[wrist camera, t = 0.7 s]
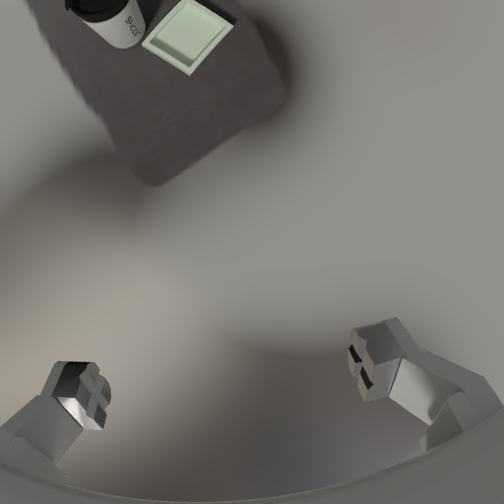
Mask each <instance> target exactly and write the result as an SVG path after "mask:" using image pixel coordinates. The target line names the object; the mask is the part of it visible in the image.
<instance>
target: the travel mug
mask: <svg viewBox="0 0 504 504" xmlns="http://www.w3.org/2000/svg"><path fill="white" fill-rule="evenodd" d="M65 8H66V10H69V8H70V9H71V10H72V11H73V12H74V13H75V14H76V15H78V16H79V18H81V19H82V20H83V21H84V22H85V23H86V24H88V25H89V26H90V27H91V28H92V29H94V30H95V31H96V32H97V33H98V34H100V35H101V36H102V37H103V38H104V39H105V40H107V41H108V42H109V43H110V44H111V45H112V46H114V47H116V48H119V49H127V48H130V47H133V46H135V45H136V44H138V43H139V42H140V41H141V40H142V39H143V37H144V35H145V33H146V24H145V21H144V19H143V16H142V14H141V11H140V9H139V6H138V4H137V1H136V0H65Z"/></svg>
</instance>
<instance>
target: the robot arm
mask: <svg viewBox="0 0 504 504" xmlns="http://www.w3.org/2000/svg"><path fill="white" fill-rule="evenodd" d="M350 340H351V342H352V345H351V346H350V347H349V348H348V364H349V367H350V371H351V373H352V375H353V376H354V377H356V378H357V379H359V381H358V386H357V387H358V389H359V391H360V394H361V396H362V398H363V401H364V402H368V401H371V400H375V399H378V398H382V397H385V396H388V395H389V397H390V398H391V399H393V400H394V401H396V402H397V403H398V404H400V405H401V406H403V407H404V408H405V409H407V410H408V411H410V412H411V413H413V414H414V415H415V416H417V417H418V418H420V419H421V420H422V421H424V422H425V423H427V424H428V425H430V426H429V428H428V429H427V431H426V432H425V433H424V435H423V436H422V438H421V440H420V442H421V444H422V446H423V448H424V450H425V453H422V454H420V455H418V456H416V457H413V458H411V459H409V460H406V461H404V462H402V463H399V464H397V465H394V466H392V467H389V468H386V469H383V470H380V471H378V472H375V473H372V474H369V475H366V476H363V477H360V478H356V479H353V480H350V481H346V482H343V483H339V484H335V485H331V486H327V487H323V488H319V489H315V490H310V491H305V492H300V493H294V494H289V495H283V496H276V497H269V498H262V499H252V500H242V501H227V502H169V501H154V500H144V499H135V498H127V497H119V496H113V495H108V494H102V493H97V492H92V491H88V490H83V489H79V488H75V487H71V486H67V485H64V484H65V479H66V473H65V471H64V470H62V469H61V468H60V467H58V466H57V465H56V464H57V462H58V461H59V460H60V459H61V457H62V456H63V455H64V454H65V452H66V451H67V450H68V449H69V447H70V446H71V445H72V444H73V442H74V441H75V440H76V439H77V437H78V436H79V435H80V434H81V432H82V431H83V429H94V430H103V428H104V424H105V420H106V416H107V414H106V411H105V408H106V407H107V406H108V405H109V404H110V400H111V388H110V386H109V383H108V382H107V380H106V378H104V377H103V376H101V375H100V374H99V368H98V366H97V365H96V364H95V363H94V362H74V361H58V362H56V363H55V364H54V366H53V368H52V370H51V372H50V374H49V377H48V379H47V381H46V383H45V385H44V388H43V390H42V392H41V394H40V395H37V396H36V397H35V398H33V399H32V400H31V401H30V402H29V403H27V404H26V405H25V406H24V407H23V408H22V409H21V410H19V411H18V412H17V413H16V414H15V415H14V416H12V417H11V418H10V419H9V420H8V421H7V422H6V423H5V424H3V425H2V426H1V427H0V504H504V406H503V404H502V403H501V401H500V400H499V398H498V397H497V395H496V394H495V392H494V391H493V389H492V388H491V386H490V385H489V383H488V382H487V381H486V379H485V378H484V377H483V376H481V375H479V374H476V373H474V372H472V371H470V370H468V369H465V368H463V367H461V366H459V365H457V364H455V363H452V362H450V361H448V360H446V359H444V358H442V357H439V356H438V355H435V354H433V353H431V352H429V351H427V350H423V351H421V350H420V348H419V347H418V345H417V344H416V342H415V341H414V340H413V339H412V337H411V335H410V334H409V333H408V332H407V330H406V328H405V327H404V326H403V324H402V323H401V322H400V320H399V319H398V318H396V317H395V318H391V319H388V320H384V321H381V322H376V323H373V324H369V325H365V326H361V327H357V328H353V329H352V330H351V332H350Z"/></svg>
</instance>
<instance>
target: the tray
mask: <svg viewBox="0 0 504 504" xmlns="http://www.w3.org/2000/svg"><path fill="white" fill-rule="evenodd" d="M233 27H234V26H233V25H231V24H230V23H228V22H227V21H226V20H224V19H223V18H221V17H220V16H218V15H217V14H215V13H213V12H212V11H210V10H209V9H207V8H206V7H204V6H202V5H201V4H199V3H197V2H196V1H194V0H181V1H180V2H179V3H178V4H177V5H176V6H175V7H174V8H173V9H172V10H171V11H170V12H169V13H168V15H167V16H166V17H165V18H164V19H163V20H162V21H161V22H160V23H159V24H158V25H157V27H156V28H155V29H154V30H153V31H152V32H151V33H150V35H149V36H148V37H147V38H146V39H145V40H144V42H143V43H142V46H143V47H144V48H146V49H148V50H149V51H151V52H153V53H154V54H156V55H158V56H159V57H161V58H163V59H164V60H166V61H167V62H169V63H171V64H172V65H174V66H175V67H177V68H178V69H180V70H181V71H183V72H185V73H186V74H188V75H189V76H190V75H191V74H192V73H193V72H194V70H195V69H196V68H197V67H198V66H199V65H200V63H201V62H202V61H203V60H204V59H205V58H206V56H207V55H208V54H209V53H210V52H211V51H212V50H213V49H214V47H215V46H216V45H217V44H218V43H219V42H220V41H221V40H222V39H223V38H224V37H225V36H226V35H227V33H228V32H229V31H230V30H231V29H232V28H233Z"/></svg>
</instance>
